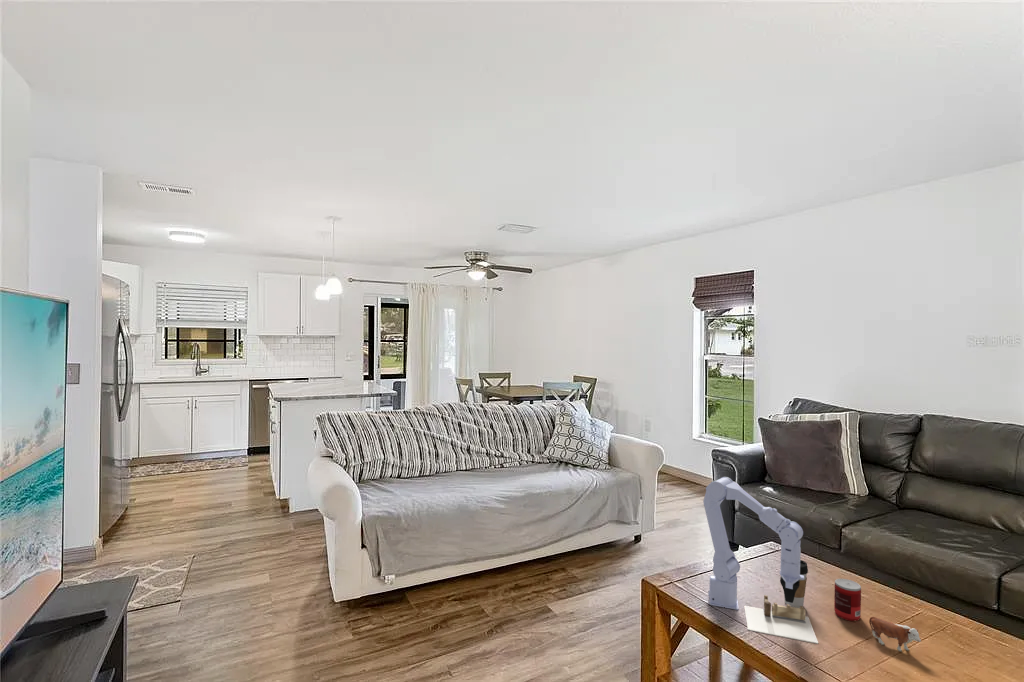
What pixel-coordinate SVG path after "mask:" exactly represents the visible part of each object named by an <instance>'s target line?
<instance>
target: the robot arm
mask: <svg viewBox="0 0 1024 682" xmlns="http://www.w3.org/2000/svg"><path fill="white" fill-rule="evenodd" d="M724 500H727V501H731V500H733V501H738V502H739V503H741V504H743V506H745V507H747V508H748V509H750V510H751V511H753V512H754V513H755V514H756V515H758V519H759V521H760V522H761V523H763V524H764V525H766V526H767V527H768V528H770V529H771V530H772V531H773V532H775V533H776V534H778V536H779V538H780V540H781V543H780V544H781V545H780V564H779V565H780V567H779V568H780V570H779V575H780V578H779V579H780V580H779V582H780V585H781V587H782V590H783V596H785V599H784V601H785V600H786V602H790V603H793V601H794V597H795V593H796V591H797V589H798V588H799V585H800V584H799V583H800V579H801V580H804V576H803V575H800V560H801V554H802V553H801V550H802V548H801V541H802V540H801V539H802V538H803V535H804V530H803V528H802V526H801V525H800V524H799V523H798V522H796V521H791V519H789V518H786V517H785V516H783V515H782V514H781V513H779V512H778V509H777V508H775V507H773V508H772V507H771V506H764V505H763V504H762V503H760V501H758V500H757V499H756V498H754V497H753V496H752V495H751V494H750V493H748V492H747V491H746V490H745V489H743V487H741V486H740V485H739V484H738V482H736V481H733V480H732V478H730V477H728V476H722V477H720V478H719V479H717V480H714V481H711V482H709V484H708V485H707V486H706V487H705V494H704V498H703V500H702V501H703V502H702V503H703V506H704V507H703V508H704V511H705V515H706V521H707V525H708V527H709V533H710V536H711V540H712V541H711V542H712V546H713V550H714V553H713V556H712V563H713V566H712V573H713V575H709V588H708V589H709V590H708V593H707V594H708V597H709V602H708V603H709V605H710V606H714V607H720V608H724V607H725V609H730V610H731V609H732V610H736V611H738V610H739V609H740V608H739V602H738V576H737V574H738V573H739V572H740V569H741V564H740V562H739V561H738V559H737V557H736V554H735V552H734V551H733V550H731V546H730V543H729V539H728V534H727V530H726V525H725V522H724V518H723V514H722V508H721V503H722V502H723V501H724Z"/></svg>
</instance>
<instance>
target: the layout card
mask: <svg viewBox="0 0 1024 682" xmlns="http://www.w3.org/2000/svg"><path fill="white" fill-rule="evenodd" d="M743 608H744V615H745V621H746V626H747V627H746V628H747V631H749V632H750V631H751V632H756V633H761V634H766V635H771V636H776V637H781V638H786V639H792V640H795V641H802V642H807V643H812V644H817V645H818V644H819V641H818V638H817V636H816V634H815V631H814V629H813V626H812V623H811V620H810V618H809V616H805V620H801V619H794V618H787V617H780V616H773V615H772V609H771V616H770V617H768V616H765V615H764V608H762V607H761V608H760V607H755V606H748V605H744V606H743Z"/></svg>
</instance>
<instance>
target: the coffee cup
mask: <svg viewBox="0 0 1024 682" xmlns="http://www.w3.org/2000/svg"><path fill="white" fill-rule="evenodd" d="M808 568H809V567H808V562H806V561H804V560H802V559H800V575H803V576H804V580H801V579H800V583H799V584H800V585H799V588H798V589H797V591H796V593H795V597H794V601H793V603H790V602H786V600H785V596H784V595H783V596H784V598H783V599H784V603H785V604H786V605H787V604H789V605H790V607H796V608H800V606H803V607H804V604H805V594H806V589H807V587H806V586H807V580H808V578H807V574H808V573H809V569H808Z"/></svg>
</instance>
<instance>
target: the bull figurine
mask: <svg viewBox="0 0 1024 682" xmlns="http://www.w3.org/2000/svg"><path fill="white" fill-rule="evenodd" d="M868 621H869V626H870V628H871V632H872V636H873V638H875V639H876V640H878V644H880V645H882V646H885V645H886V644H885V642H884V641H883V640H882V638H881V636H882V635H881V634H884V635H885V637H886V638H887V639H889V640H890V639H894V640H895V639H896V640H897V645H898V646H897V647H896V649H897V650H898V652H903V650H902V648H901V647H902V646H903V649H904V650H905V651H906V652H909V651H910V649H909V648H908V646H907V644H910V643H912V642H913V641H915V642H917V643H918V642H919V643H920V642H921V643H922V639H921V638H920V633H919V629H916V628H911V627H910V626H908V625H902V624H897V623H894V622H890V621H887V620H884V619H882V618H880V617H876V616H871V617H869V620H868Z"/></svg>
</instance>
